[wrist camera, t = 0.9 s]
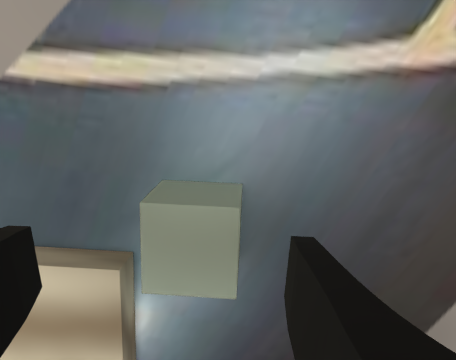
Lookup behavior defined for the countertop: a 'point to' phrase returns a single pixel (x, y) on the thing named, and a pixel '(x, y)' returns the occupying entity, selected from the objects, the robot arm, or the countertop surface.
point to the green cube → (191, 239)
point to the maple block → (80, 308)
